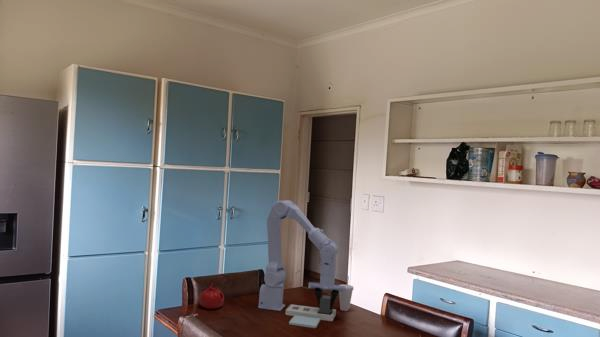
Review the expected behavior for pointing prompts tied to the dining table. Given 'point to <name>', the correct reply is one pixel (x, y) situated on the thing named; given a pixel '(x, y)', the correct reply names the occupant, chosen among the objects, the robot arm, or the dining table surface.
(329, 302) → the block
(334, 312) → the power strip
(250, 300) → the dining table surface
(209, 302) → the pomegranate
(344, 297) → the smoothie
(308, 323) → the tile
